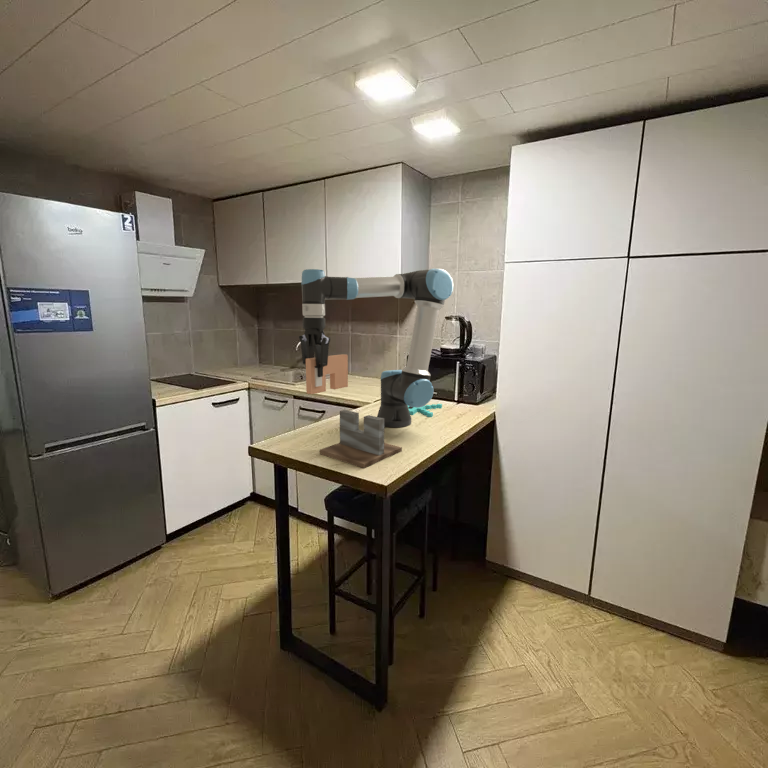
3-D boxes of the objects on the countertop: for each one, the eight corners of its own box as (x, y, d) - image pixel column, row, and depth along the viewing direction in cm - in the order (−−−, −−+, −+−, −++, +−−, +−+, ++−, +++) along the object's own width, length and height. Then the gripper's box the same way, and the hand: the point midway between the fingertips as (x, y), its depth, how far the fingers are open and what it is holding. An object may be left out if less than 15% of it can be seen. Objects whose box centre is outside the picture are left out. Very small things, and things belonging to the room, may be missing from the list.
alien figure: (441, 408, 209) (404, 404, 216) (442, 404, 209) (404, 400, 216) (431, 418, 191) (390, 413, 198) (431, 413, 190) (390, 409, 198)
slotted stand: (359, 439, 158) (359, 404, 156) (401, 451, 146) (402, 413, 143) (319, 453, 143) (319, 415, 140) (363, 468, 130) (363, 426, 128)
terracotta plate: (343, 385, 158) (342, 354, 156) (347, 386, 156) (347, 354, 154) (306, 393, 144) (305, 358, 142) (311, 394, 143) (310, 359, 140)
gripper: (290, 316, 143) (292, 384, 147) (321, 317, 133) (322, 390, 138) (307, 316, 148) (308, 381, 153) (338, 317, 139) (339, 386, 143)
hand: (315, 385), depth 145 cm, fingers closed on terracotta plate, 2 cm apart
